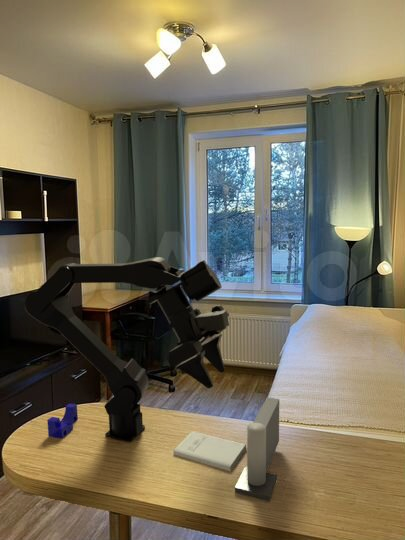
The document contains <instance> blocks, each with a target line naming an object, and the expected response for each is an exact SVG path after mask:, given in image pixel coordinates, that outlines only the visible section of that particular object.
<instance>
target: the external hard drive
mask: <svg viewBox="0 0 405 540" xmlns="http://www.w3.org/2000/svg"><path fill="white" fill-rule="evenodd" d="M245 451H247V444H245V443H241V442H236V441H233V440H230V439H225V438H221V437H217V436H213V435H209V434H204V433H201V432H198V431H193V430H191V431H190V433H189V434H187V436H185V438H183V440H182V441H181V442H179V444H178V445H176V447H175V448H174V449H173V451H172V452H173V455H174V456H177V457H181V458H184V459H188V460H191V461H195V462H198V463H202V464H205V465H208V466H211V467H215V468H218V469H221V470H226V471H228V472H231V471H232V469H234V467H235V465H236V464H237V463H238V461H239V459H240V458H241V457H242V455H243V454H244V452H245Z"/></svg>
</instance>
